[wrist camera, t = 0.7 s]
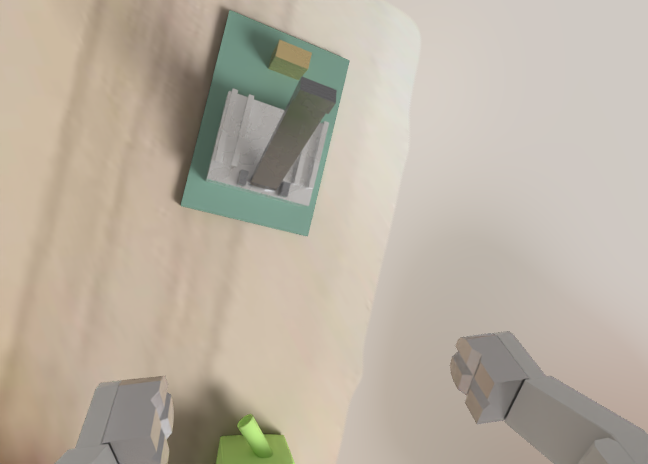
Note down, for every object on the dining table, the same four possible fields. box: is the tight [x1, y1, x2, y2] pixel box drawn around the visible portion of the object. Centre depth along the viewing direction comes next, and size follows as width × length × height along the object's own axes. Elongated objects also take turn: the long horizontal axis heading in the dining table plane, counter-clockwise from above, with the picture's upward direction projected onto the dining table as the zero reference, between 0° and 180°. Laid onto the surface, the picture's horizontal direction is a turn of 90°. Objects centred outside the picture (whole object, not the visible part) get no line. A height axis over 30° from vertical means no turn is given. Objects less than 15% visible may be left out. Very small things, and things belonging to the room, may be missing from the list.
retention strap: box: [250, 76, 337, 192], centre depth 37 cm, size 16×3×2 cm
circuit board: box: [181, 10, 349, 236], centre depth 49 cm, size 24×16×1 cm, turn 165°
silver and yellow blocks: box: [205, 40, 329, 207], centre depth 46 cm, size 18×12×6 cm
